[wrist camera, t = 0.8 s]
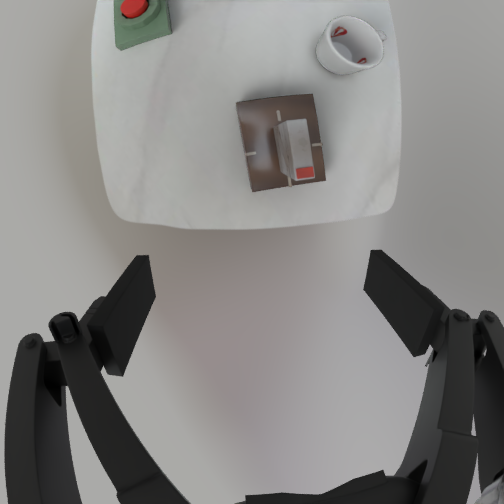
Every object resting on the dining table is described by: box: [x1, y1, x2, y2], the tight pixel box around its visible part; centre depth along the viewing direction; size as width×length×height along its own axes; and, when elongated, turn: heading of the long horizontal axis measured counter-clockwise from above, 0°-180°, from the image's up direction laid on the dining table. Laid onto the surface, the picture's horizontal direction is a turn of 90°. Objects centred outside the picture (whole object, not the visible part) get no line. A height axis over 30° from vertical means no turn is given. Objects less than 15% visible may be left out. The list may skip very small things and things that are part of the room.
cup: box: [316, 16, 386, 75], centre depth 26 cm, size 11×8×8 cm
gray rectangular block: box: [273, 119, 315, 181], centre depth 28 cm, size 6×2×9 cm, turn 10°
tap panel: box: [236, 94, 326, 192], centre depth 34 cm, size 12×10×3 cm
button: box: [120, 0, 148, 18], centre depth 21 cm, size 4×4×2 cm
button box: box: [114, 0, 172, 50], centre depth 24 cm, size 10×8×4 cm
